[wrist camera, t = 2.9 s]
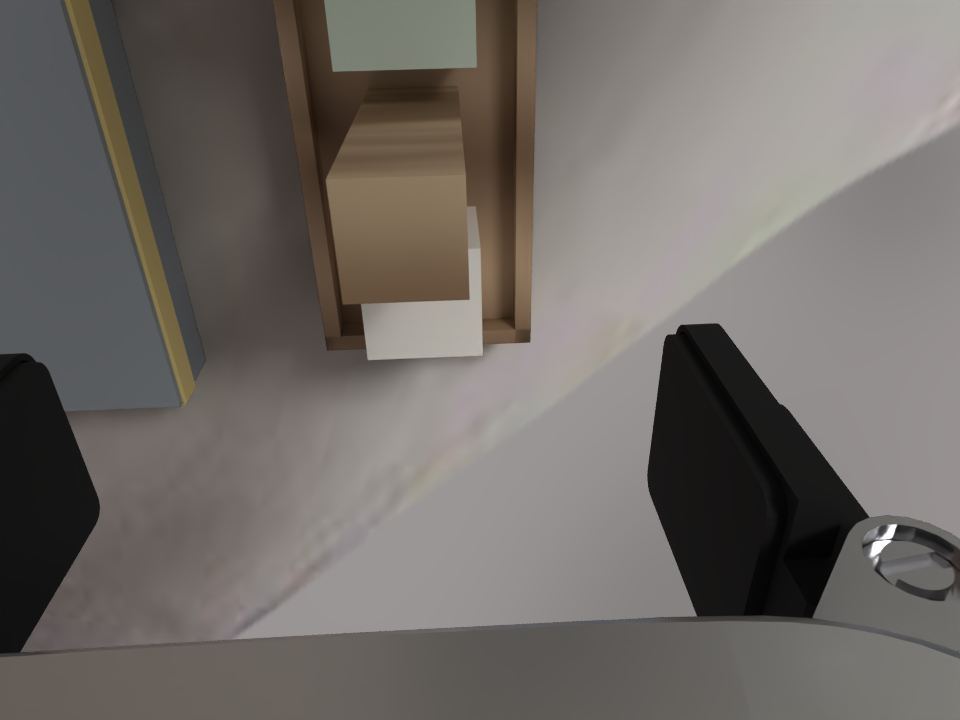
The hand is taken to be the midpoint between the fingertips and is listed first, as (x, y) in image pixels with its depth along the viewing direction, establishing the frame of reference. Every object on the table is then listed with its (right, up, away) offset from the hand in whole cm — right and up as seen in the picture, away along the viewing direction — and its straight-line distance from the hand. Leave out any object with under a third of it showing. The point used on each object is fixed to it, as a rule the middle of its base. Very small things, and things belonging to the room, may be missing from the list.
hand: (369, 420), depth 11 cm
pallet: (-1, +10, +15) cm, 18 cm away
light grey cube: (0, +5, +16) cm, 17 cm away
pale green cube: (-1, +13, +11) cm, 17 cm away
